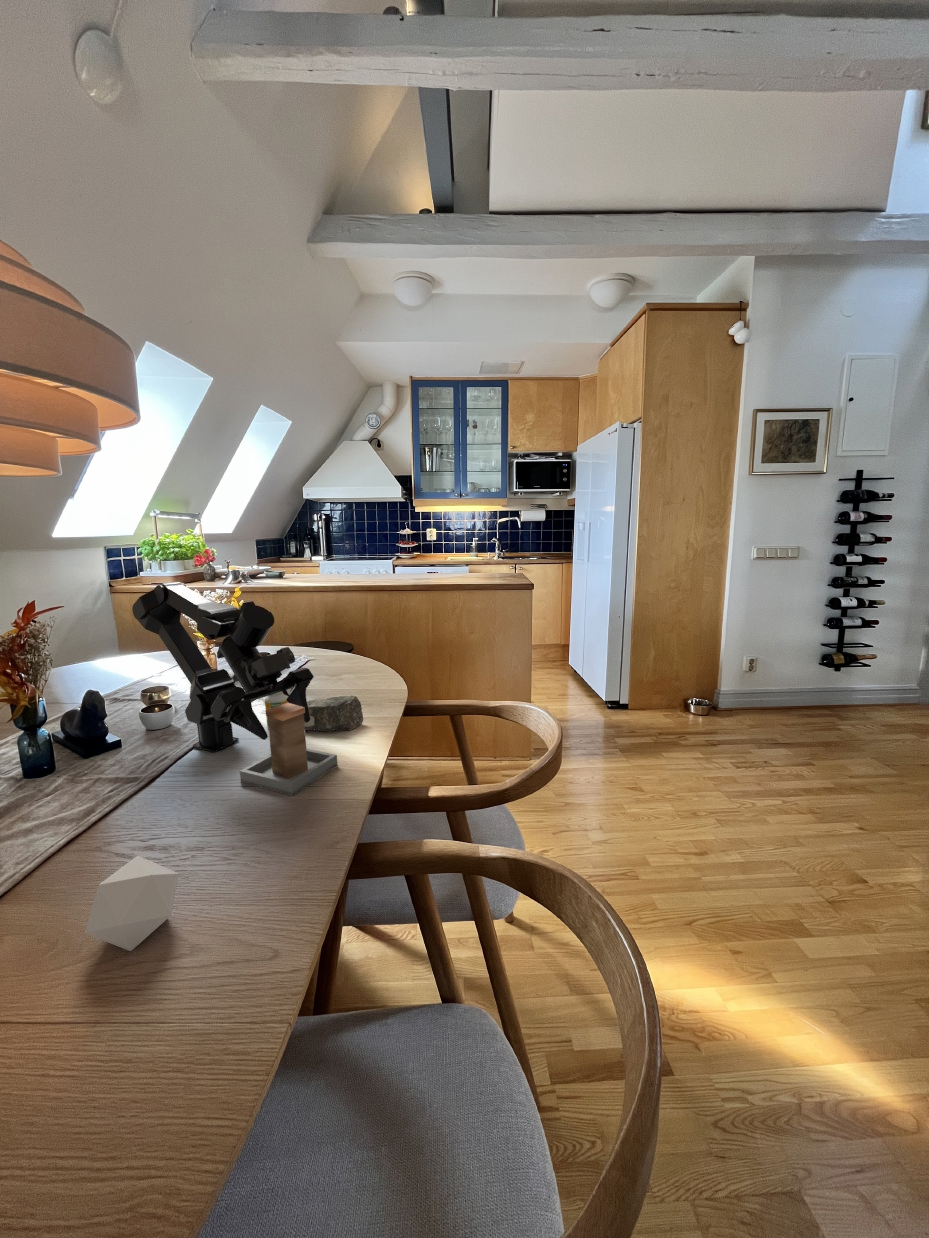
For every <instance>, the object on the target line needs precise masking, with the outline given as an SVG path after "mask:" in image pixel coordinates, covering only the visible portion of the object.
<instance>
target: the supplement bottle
mask: <svg viewBox="0 0 929 1238" xmlns="http://www.w3.org/2000/svg"><path fill="white" fill-rule="evenodd" d="M287 698H288V696H286V695H284V694H283V692H282V691H281V692H278V693H275V694H272V695H269V696H266V697H264V707H265V710H268V709H271V708H274V707H277V706H280V705H283V704H285V703H288V701H287V700H286V699H287ZM265 716H266V715H265ZM265 718H266V726H267V728H268V729H269V726H268V716H266V717H265Z"/></svg>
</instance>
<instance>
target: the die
mask: <svg viewBox="0 0 929 1238" xmlns="http://www.w3.org/2000/svg"><path fill="white" fill-rule="evenodd" d="M179 875H180V873H178V872H176V871H174V870H171V869H170V868H167V867H165V866H162V865H160V864H158V863H155V862H154V861H151V860H149V859H147V858H144V857H142V856H140V855H136V856H135V857H134V858H132V859H131V860H129V861H128V862H127V863H125V864H124V865H123V866H122V867H121V868H119V869H118V870H116V871H115V872H114V873H112V874H111V875H109V876H108V877H107V878H106V879H104V880H102V882H100V883H99V884H98V886H97V890H96V893H95V896H94V900H93V903H92V906H91V911H90V913H89V918H88V921H87V924H86V926H85V927H86V928H85V931H84V934H85V935H88V936H91V937H93V938H95V939H99V940H101V941H103V942H106V943H109V944H111V945H113V946H115V947H116V946H117V947H119V948H121V949H123V950H126V951H129V952H132V951H133V950H134V949H135V948H136V947H138V946H139V945H140V944H141V943H142V942H143V941H144V940H145V939H147V938H148V937H149V936H150V935H151V934H152V933H153V932H154V931H155V930H156V929H157V928H159V927H160V926H161V925H162V924H163V923H164V922H166V921H167V920H168V918H170V917H171V916H172V913H173V907H174V903H175V897H176V892H177V885H178V881H179Z"/></svg>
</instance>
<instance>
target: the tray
mask: <svg viewBox="0 0 929 1238" xmlns="http://www.w3.org/2000/svg"><path fill="white" fill-rule="evenodd" d="M306 751H307V764H308V769H307V770H305V771H303V772H301V773H299V774H297V775H295V776H293V777H291V778H289V779H287V778H285V777H282V776H280V775H277V774H275V773H273V771H272V759H271V753H270V754H268V755H266V756H264V757H262V758H261V759H259V760H257V761H255V762H253V763H252V764H249V765H248V766H246V767H244V768H243V769H242V768H241V770H239V778H240V783H242V784H245V785H249V786H254V787H257V788H261V789H264V790H268V791H272V792H276V793H279V794H280V793H281V794H283V795H284V794H285V795H287V796H292V797H294V796H295V795H296V794H298V793H299V792H301V791H302V790H304V789H305V788H307V787H308V786H310V785H311V784H313V783H314V782H316V781H317V780H319V779H320V778H321V777H324V776H325V775H326V774H328V772H330V771H332V770H334V769H335V768H336V767H338V755H337V754H335V753H329V752H324V751H320V750H316V749H310V748H306Z"/></svg>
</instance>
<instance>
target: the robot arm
mask: <svg viewBox="0 0 929 1238" xmlns="http://www.w3.org/2000/svg"><path fill="white" fill-rule="evenodd" d="M131 611H132V614H133V617H134V619H136V620H137V622H139V624H140V625H141V626H142V627H143V629H145V630H147V631H148V632H151V633H153V634H155V635H158V636H159V638H160V639H161V641H162V642H163V644H164V645H165V647H166V649H167V650H168V651H169V653H170V654H171V656H172V658H173V659H174V661H175V662H176V663H177V665H178V667H179V668H180V670H181V671H182V672H183V674H184V675H185V677H186V678H187V680H188V682H189V684H190V688H189V690H190V691H189V696H188V697H189V699H190V701H189V702H188V704H187V706H186V708H185V709H184V713H185V717H186V720H187V721H188V722H190V723H193V724H196V727H197V735H198V742H196V743H194V744H192V748H194V749H198V750H203V751H207V752H210V753H211V752H212V753H215V752H218V751H219V750H222V749H224V748H226V747H228V746H230V745H232V744H234V743H237V742H239V740H240V739H239V737H235V736H234V735H233V734H234V733H233V726H232V725H233V724H234V725H237V726H239V727H241V728H243V729H245V730H247V731H248V732H249V733H251V734H252V735H255V736H257V737H258V738H260V739H261V740H263V741H264V740H267V739H268V736H269V734H268V733H267V731H266V729H265V728H264V726H263V724H262V722H261V721H260V719H259V718H258V716H257V715H256V713H255V711H254V710H253V705H252V702H253V701H257V700H260V699H262V698H265V697H266V696H269V695H272V694H275V693H278V692H281V691H282V692H283V694H284V695H286V696H288V698H287V699H286V700H287V701H288V703H291V704H295V705H298V706H302V707H305V713H304V721H305V722H306V723H308V722H309V721H310V715H309V710H308V705H307V701H308V700H307V688H308V686H309V685H310V684H311V681H312V680H313V679H314V678H315V675H314V674H313V672H312V671H311V670H310V668H308V667H301V668H296V669H294V670H290V671H289V672H288V673H287V675H286V676H285V678H284V679H282V680H280V681H279V680H278V679H280V678H281V677H282V672H283V671H284V670H289V669H290V668H291V664H293V663H295V662H296V656H295V655H294V652H293V650H292V649H291V648H290V647H289V646H286V647H282V648H280V649H278V650H276V653H272V654H269V655H267V654H261V653H260V651H259V649H258V648H257V647H259V646H261V645H262V644H263V642H264V641H265V639H266V637H267V636H268V634H269V632H270V631H271V629H272V627H273V626H274V624H275V616H274V614H273V613H272V612H271V611H269V610H268V609H266V608H265V607H263V606H261V605H257V604H256V603H255V602H254V601H253V600H251V601H243V602H242V604H241V606H240V608H238V607H237V606H235V605H231V604H228V603H220V602H218V603H217V602H212V601H211V600H209V599H208V598H206V597H204V596H203V595H201V594H199V593H197V592H196V591H194V590H192V589H190V588H189V587H187V586H186V584H185V583H184V582H180V581H171V582H164V583H159V584H157V585H156V586H155V587H154V588H153V589H152V590H150V591H147V592H146V593H144V594H142V595H140V596H139V597H138V598H137V599H136V600H135V602H134V603H133V604H132V610H131ZM182 615H184V616H186V617H187V618H189V619H191V620H192V621H194V622H195V623H196V630H197V631H198V632H199V634H201V635H202V636H203V637H204V638H205V639H206V640H207V641H214V640H218V639H219V640H220V639H222V642H221V643H219V644H218V650H217V652H216V657H217V659H223V658H224V659H225V661H226V662H227V664H228V666H229V668H230V669H231V671H232V673H233V676H232V677H231V675H230V674H229V672H228V671H227V670H226V669H224V668H221V669H217V670H215V669H213V667H212V665H210V663H209V662H208V660H207V659H206V657H205V656H204V655H203V653H202V652H201V650H200V649H199V647H198V646H197V644H196V643H195V641H194V640H193V639H192V636H191V635H190V634H189V632H188V631H187V629H186V628H185V627H184V625H183V624H182V621H181V619H182ZM236 683H239V684H240V686H237V685H236Z"/></svg>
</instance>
